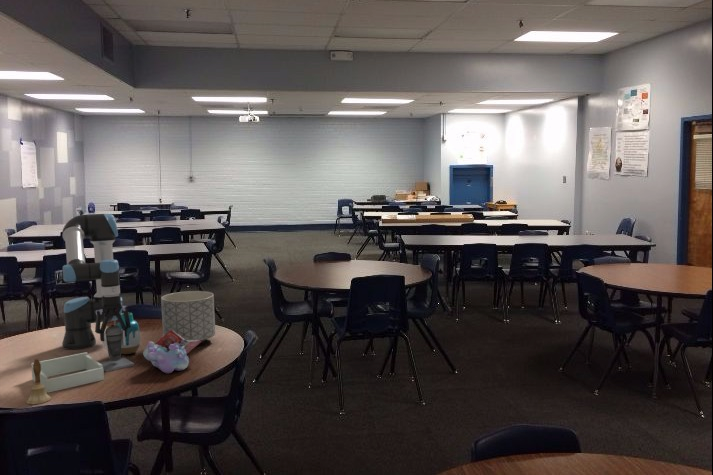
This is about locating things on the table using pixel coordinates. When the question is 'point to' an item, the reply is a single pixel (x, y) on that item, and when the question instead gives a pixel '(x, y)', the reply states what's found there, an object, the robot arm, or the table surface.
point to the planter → (189, 314)
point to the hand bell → (38, 387)
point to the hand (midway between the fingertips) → (114, 346)
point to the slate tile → (116, 364)
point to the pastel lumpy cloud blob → (170, 352)
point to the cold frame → (66, 366)
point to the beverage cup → (114, 341)
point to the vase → (130, 336)
